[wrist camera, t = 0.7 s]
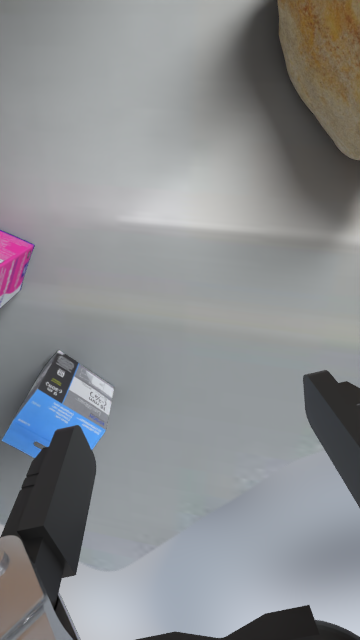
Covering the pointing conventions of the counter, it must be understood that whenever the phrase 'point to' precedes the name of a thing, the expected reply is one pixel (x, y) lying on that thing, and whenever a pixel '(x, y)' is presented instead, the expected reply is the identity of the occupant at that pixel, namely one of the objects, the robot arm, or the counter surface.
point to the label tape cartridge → (61, 406)
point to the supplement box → (12, 264)
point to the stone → (325, 63)
